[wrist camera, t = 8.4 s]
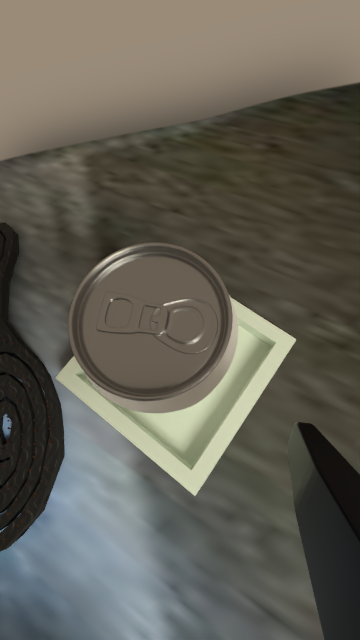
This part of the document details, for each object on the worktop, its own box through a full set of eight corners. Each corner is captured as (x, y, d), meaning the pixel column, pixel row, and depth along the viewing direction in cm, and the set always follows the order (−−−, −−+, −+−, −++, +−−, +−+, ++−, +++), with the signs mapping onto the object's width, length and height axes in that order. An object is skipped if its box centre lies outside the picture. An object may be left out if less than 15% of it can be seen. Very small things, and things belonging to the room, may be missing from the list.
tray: (287, 345, 22) (296, 339, 20) (195, 487, 19) (195, 496, 17) (162, 264, 24) (159, 252, 22) (67, 380, 22) (55, 377, 20)
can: (212, 417, 20) (232, 435, 8) (123, 400, 21) (29, 394, 9) (224, 329, 22) (256, 243, 10) (142, 316, 22) (84, 221, 11)
